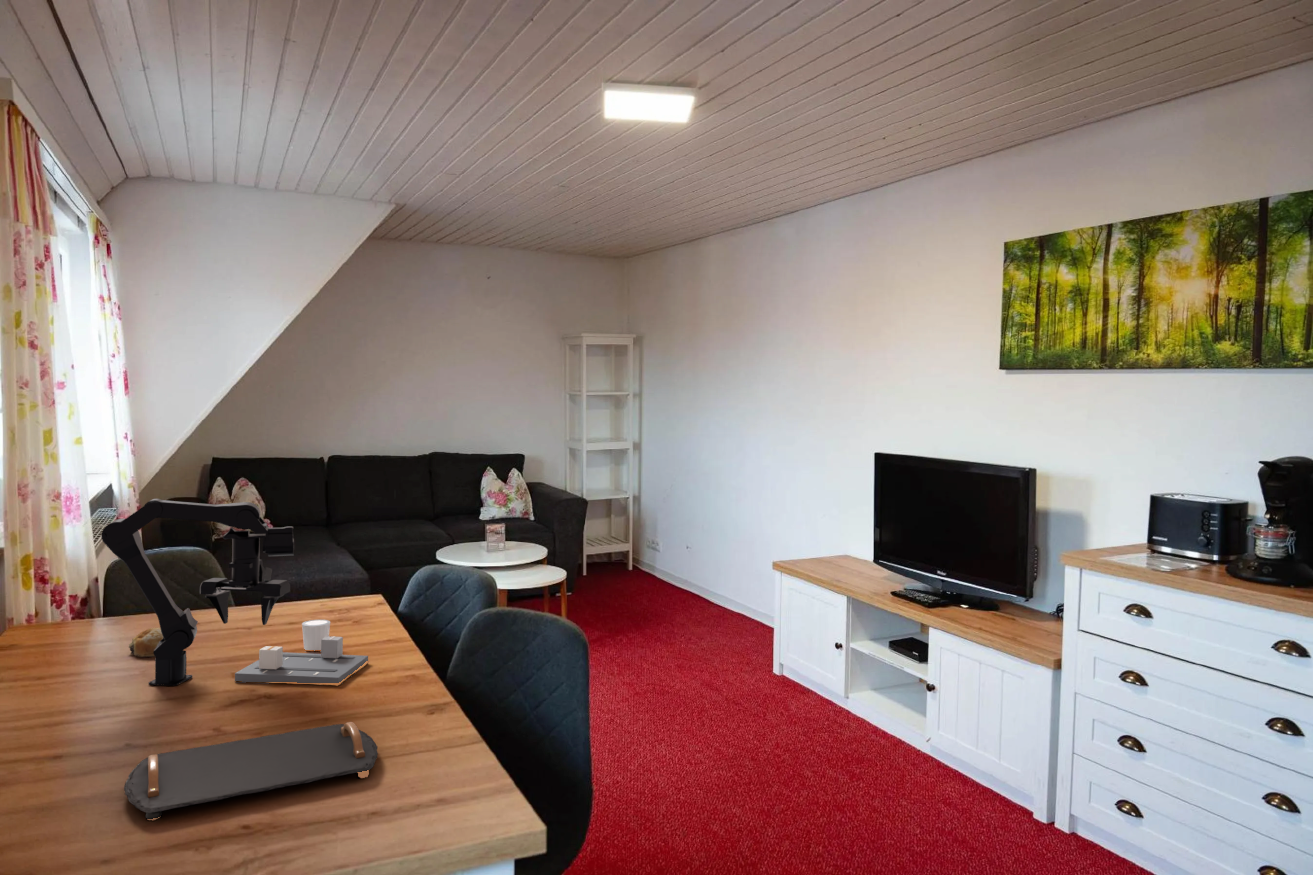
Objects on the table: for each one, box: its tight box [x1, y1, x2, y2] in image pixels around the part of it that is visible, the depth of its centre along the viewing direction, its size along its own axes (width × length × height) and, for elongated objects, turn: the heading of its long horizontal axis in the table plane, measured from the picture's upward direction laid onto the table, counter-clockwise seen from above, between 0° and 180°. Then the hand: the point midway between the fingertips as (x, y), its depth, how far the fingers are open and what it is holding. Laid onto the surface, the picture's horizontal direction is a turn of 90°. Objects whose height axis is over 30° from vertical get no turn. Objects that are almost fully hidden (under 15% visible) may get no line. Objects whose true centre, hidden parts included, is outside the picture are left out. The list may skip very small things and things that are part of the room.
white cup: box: [301, 619, 331, 651], centre depth 217 cm, size 7×7×7 cm
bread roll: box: [127, 627, 163, 658], centre depth 211 cm, size 10×10×8 cm
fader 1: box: [258, 645, 284, 669], centre depth 194 cm, size 3×4×4 cm
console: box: [234, 651, 369, 683], centre depth 198 cm, size 17×24×2 cm
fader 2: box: [320, 635, 344, 658], centre depth 203 cm, size 3×4×4 cm
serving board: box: [123, 721, 379, 819], centre depth 143 cm, size 39×23×6 cm, turn 121°
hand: (245, 623), depth 194 cm, fingers open, 9 cm apart
